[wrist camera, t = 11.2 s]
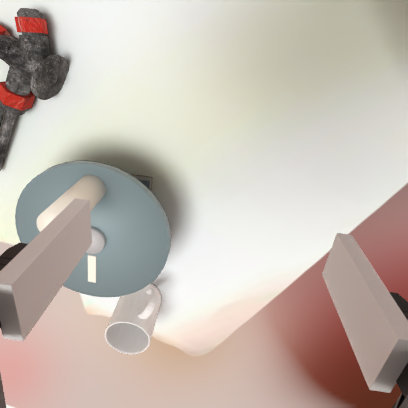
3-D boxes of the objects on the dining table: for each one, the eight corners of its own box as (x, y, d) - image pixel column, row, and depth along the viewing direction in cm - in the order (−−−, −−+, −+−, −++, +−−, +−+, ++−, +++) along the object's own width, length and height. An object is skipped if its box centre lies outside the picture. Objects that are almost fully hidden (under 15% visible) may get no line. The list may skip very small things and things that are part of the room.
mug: (149, 315, 65) (136, 360, 56) (116, 297, 64) (96, 340, 54) (180, 279, 60) (171, 322, 51) (145, 259, 59) (129, 299, 49)
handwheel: (162, 300, 51) (145, 365, 40) (29, 276, 51) (-22, 335, 40) (179, 177, 41) (163, 220, 31) (13, 147, 41) (-60, 180, 30)
